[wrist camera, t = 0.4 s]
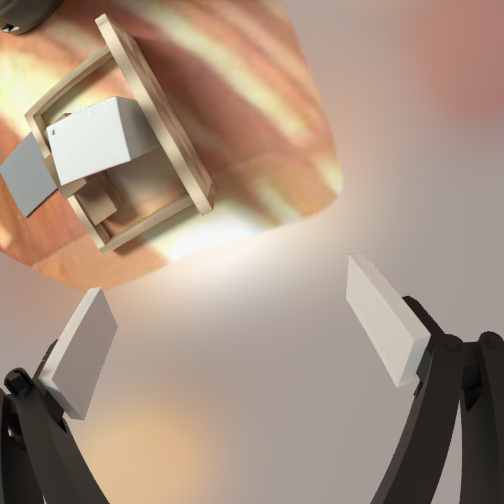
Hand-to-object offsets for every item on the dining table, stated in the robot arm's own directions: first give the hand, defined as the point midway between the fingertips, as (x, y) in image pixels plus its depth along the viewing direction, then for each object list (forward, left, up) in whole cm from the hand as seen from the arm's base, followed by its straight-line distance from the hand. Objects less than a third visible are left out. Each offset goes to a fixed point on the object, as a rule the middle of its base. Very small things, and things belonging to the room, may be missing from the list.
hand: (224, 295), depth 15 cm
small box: (-13, -8, -25) cm, 29 cm away
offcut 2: (-8, -15, -25) cm, 31 cm away
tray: (-13, -10, -25) cm, 30 cm away
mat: (-17, -25, -25) cm, 40 cm away
